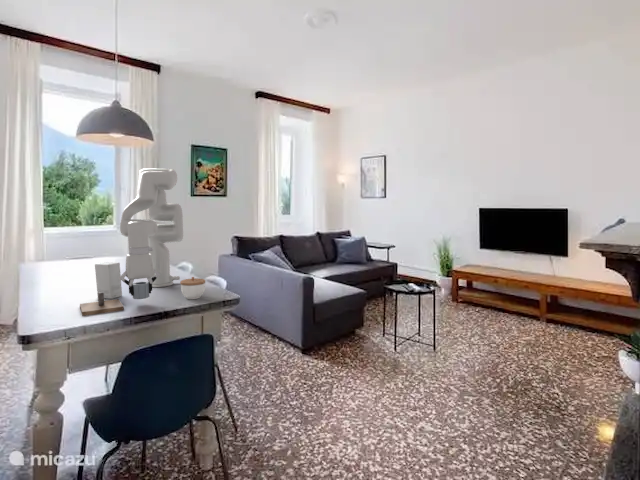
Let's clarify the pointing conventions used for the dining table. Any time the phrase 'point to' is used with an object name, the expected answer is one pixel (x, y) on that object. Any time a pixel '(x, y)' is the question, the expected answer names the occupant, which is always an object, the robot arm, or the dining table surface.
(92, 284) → the dining table surface
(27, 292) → the dining table surface
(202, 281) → the lidded jar
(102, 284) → the skincare box
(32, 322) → the dining table surface
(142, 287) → the roll
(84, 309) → the roll stand
